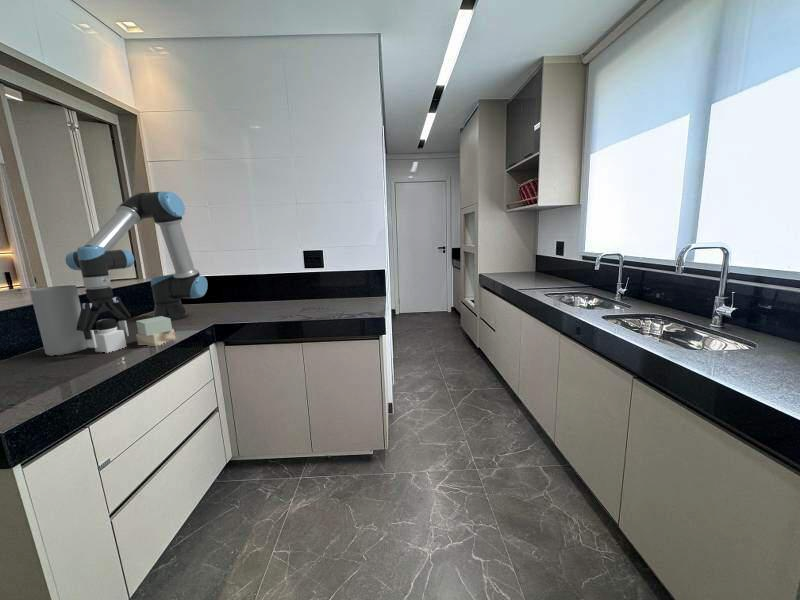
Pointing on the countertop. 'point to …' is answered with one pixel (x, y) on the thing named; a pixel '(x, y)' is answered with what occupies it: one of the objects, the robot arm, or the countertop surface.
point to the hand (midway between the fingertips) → (109, 341)
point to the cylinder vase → (59, 319)
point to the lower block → (156, 338)
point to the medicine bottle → (109, 336)
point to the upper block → (154, 325)
